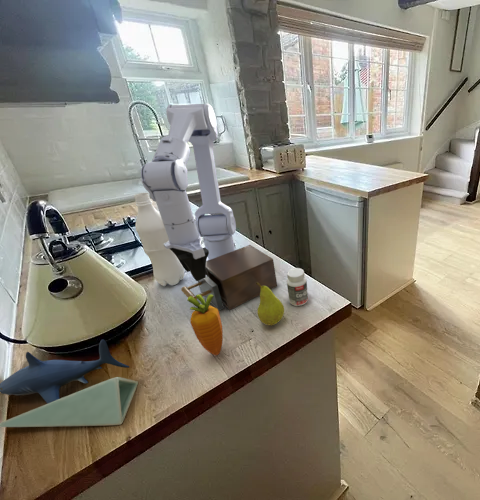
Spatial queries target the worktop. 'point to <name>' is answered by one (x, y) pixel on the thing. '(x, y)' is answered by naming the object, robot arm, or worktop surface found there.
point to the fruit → (269, 307)
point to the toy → (53, 374)
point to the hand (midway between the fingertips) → (195, 274)
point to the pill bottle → (297, 287)
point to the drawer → (208, 290)
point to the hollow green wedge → (83, 407)
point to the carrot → (207, 324)
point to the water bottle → (156, 242)
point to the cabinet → (242, 274)
